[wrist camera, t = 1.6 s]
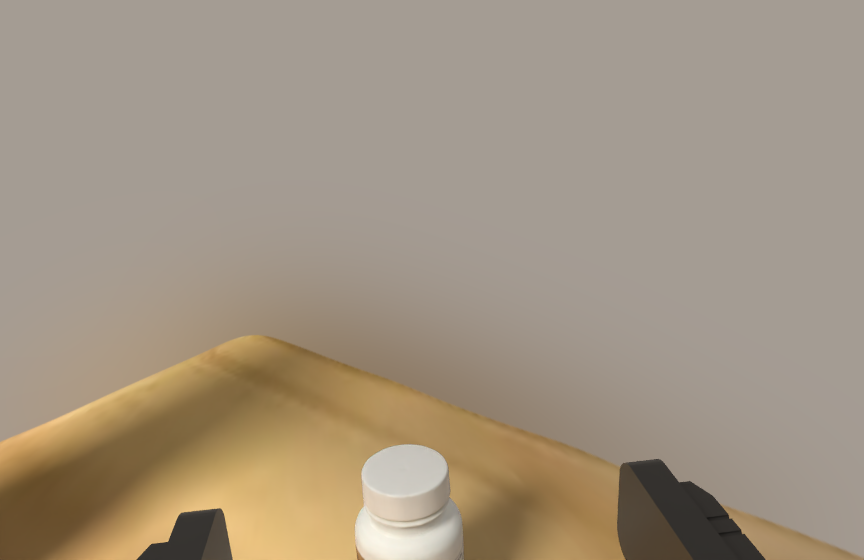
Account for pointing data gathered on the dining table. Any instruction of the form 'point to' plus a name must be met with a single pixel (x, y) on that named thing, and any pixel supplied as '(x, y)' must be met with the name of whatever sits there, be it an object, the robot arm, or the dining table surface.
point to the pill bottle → (408, 507)
